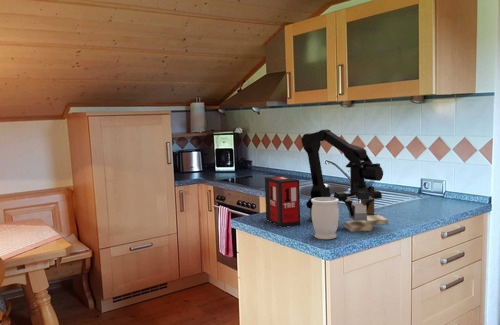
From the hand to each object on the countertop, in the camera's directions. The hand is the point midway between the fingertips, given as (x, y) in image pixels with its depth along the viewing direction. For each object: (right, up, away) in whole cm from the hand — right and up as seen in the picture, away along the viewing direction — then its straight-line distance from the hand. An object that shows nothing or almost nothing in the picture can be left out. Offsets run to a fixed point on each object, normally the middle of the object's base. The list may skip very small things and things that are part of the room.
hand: (357, 215), depth 183 cm
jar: (-15, -7, -11) cm, 20 cm away
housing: (0, -1, 0) cm, 1 cm away
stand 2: (+9, -4, +10) cm, 14 cm away
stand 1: (0, -5, +1) cm, 5 cm away
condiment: (+11, -3, +23) cm, 26 cm away
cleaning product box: (-30, -5, +15) cm, 34 cm away
